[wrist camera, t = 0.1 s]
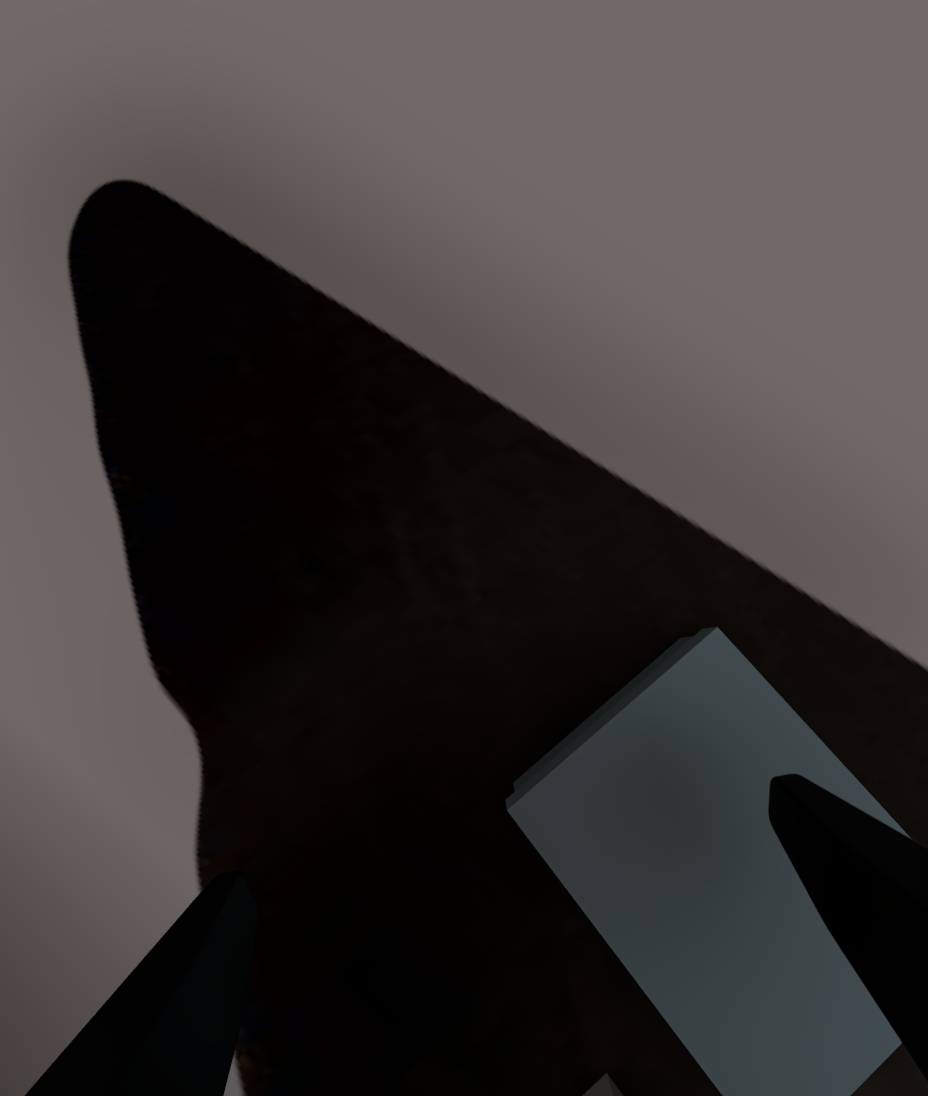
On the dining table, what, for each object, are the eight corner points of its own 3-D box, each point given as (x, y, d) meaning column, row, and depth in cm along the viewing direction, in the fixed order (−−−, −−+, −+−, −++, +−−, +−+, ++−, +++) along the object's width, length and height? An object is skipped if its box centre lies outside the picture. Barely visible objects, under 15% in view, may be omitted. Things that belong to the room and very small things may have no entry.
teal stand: (931, 899, 21) (1003, 939, 18) (735, 1093, 20) (778, 1168, 17) (688, 630, 24) (717, 627, 21) (504, 790, 23) (506, 810, 20)
